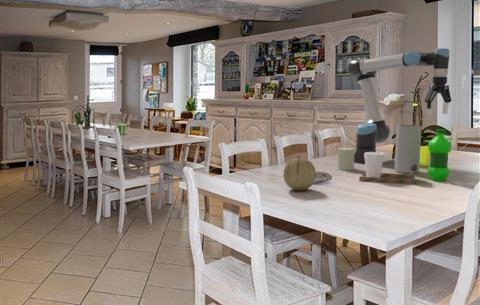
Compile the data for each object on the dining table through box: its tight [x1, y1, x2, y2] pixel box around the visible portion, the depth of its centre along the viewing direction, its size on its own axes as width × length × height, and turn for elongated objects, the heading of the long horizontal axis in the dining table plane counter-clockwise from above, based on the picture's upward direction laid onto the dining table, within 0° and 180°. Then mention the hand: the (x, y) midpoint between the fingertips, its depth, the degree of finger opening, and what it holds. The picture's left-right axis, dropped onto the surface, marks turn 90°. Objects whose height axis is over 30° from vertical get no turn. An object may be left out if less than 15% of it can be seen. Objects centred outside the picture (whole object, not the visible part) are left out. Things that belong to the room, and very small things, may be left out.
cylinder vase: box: [394, 124, 422, 175], centre depth 244 cm, size 12×12×25 cm
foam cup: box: [364, 151, 385, 178], centre depth 226 cm, size 10×9×13 cm
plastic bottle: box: [427, 128, 453, 182], centre depth 222 cm, size 10×10×25 cm
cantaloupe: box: [282, 156, 317, 192], centre depth 203 cm, size 15×15×15 cm
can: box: [336, 147, 355, 171], centre depth 255 cm, size 9×9×12 cm
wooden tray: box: [358, 162, 417, 185], centre depth 224 cm, size 26×14×9 cm, turn 68°
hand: (437, 114), depth 258 cm, fingers open, 13 cm apart
